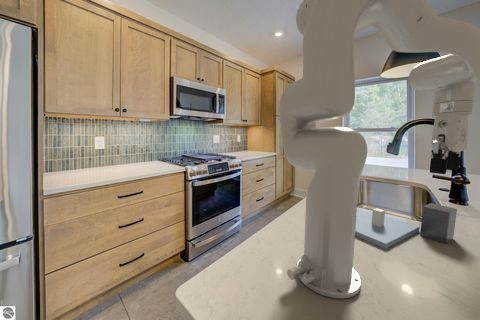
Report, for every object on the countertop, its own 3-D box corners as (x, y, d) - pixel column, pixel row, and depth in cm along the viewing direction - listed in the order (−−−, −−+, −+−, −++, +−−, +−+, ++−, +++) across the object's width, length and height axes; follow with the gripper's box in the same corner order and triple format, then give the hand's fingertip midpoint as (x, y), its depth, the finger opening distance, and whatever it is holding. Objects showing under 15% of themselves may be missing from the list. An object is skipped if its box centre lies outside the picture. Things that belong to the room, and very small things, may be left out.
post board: (385, 249, 52) (387, 225, 52) (337, 227, 65) (338, 208, 64) (419, 231, 62) (421, 211, 61) (371, 215, 74) (372, 198, 73)
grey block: (445, 243, 55) (449, 212, 54) (420, 235, 60) (423, 206, 59) (453, 238, 57) (457, 208, 56) (427, 230, 62) (431, 203, 61)
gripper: (460, 106, 47) (451, 177, 49) (482, 109, 55) (473, 170, 57) (420, 109, 53) (413, 172, 55) (444, 112, 62) (438, 167, 64)
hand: (444, 171), depth 56 cm, fingers open, 9 cm apart
